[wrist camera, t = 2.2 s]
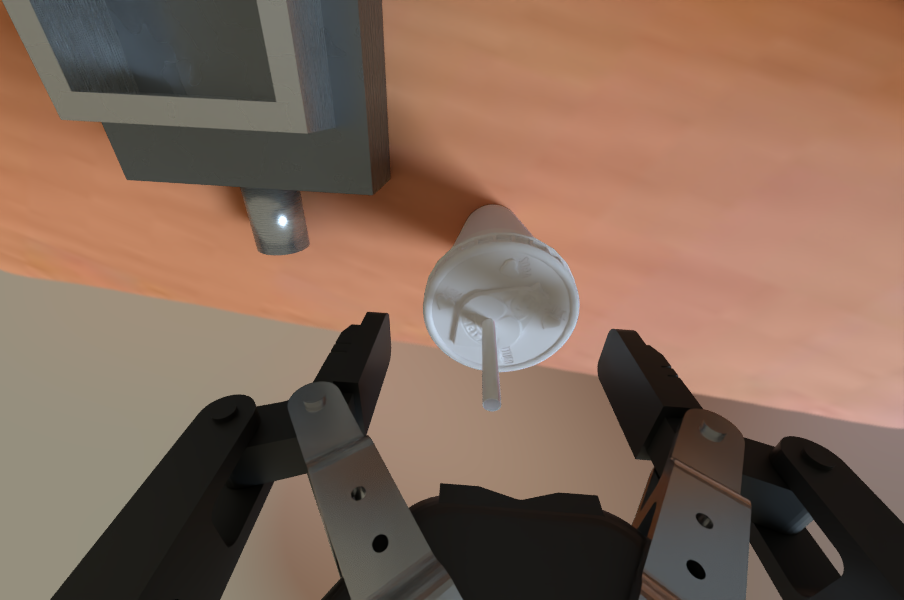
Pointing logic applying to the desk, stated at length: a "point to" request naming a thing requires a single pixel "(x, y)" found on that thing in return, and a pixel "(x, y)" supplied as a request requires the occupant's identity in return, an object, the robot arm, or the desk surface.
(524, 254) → the smoothie
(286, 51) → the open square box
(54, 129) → the desk surface
